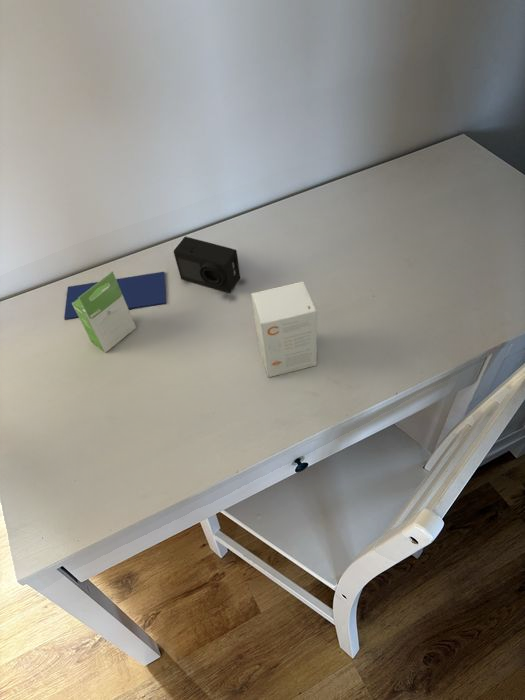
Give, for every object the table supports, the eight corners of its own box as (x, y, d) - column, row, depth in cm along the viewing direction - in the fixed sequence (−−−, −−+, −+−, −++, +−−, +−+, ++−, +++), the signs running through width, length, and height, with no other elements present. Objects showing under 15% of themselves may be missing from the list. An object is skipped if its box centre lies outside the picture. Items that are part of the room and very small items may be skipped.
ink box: (122, 317, 94) (98, 261, 83) (137, 328, 92) (114, 271, 81) (91, 342, 91) (61, 286, 80) (105, 353, 89) (77, 298, 78)
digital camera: (176, 283, 98) (168, 255, 92) (191, 264, 101) (184, 235, 95) (227, 298, 95) (221, 269, 89) (240, 278, 97) (236, 249, 92)
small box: (305, 336, 88) (304, 279, 78) (317, 366, 84) (317, 310, 74) (257, 348, 87) (250, 292, 77) (267, 378, 83) (261, 324, 73)
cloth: (64, 320, 94) (64, 318, 94) (68, 288, 99) (67, 286, 99) (166, 303, 95) (165, 302, 95) (164, 272, 100) (164, 271, 100)
